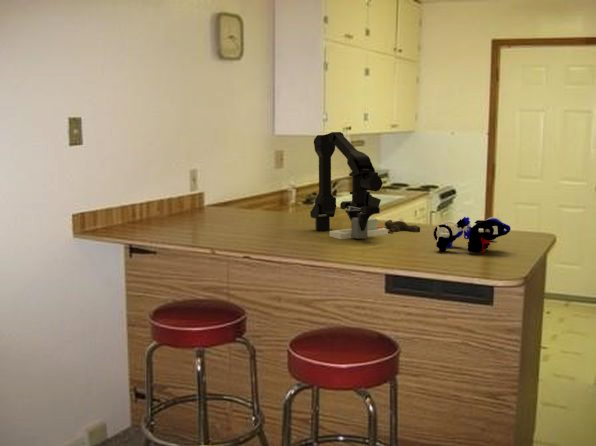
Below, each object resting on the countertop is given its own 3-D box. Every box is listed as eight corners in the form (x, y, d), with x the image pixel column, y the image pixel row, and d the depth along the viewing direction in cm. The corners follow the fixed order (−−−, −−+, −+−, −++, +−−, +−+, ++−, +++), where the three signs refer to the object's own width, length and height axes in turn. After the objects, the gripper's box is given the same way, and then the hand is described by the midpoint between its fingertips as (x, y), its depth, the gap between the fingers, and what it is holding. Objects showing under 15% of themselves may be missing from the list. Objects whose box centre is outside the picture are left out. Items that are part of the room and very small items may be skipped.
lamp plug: (361, 233, 273) (361, 218, 272) (370, 232, 275) (371, 217, 275) (367, 235, 270) (368, 220, 269) (377, 234, 272) (377, 219, 271)
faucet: (424, 233, 280) (405, 242, 269) (388, 227, 291) (369, 236, 279) (424, 221, 279) (405, 231, 268) (388, 216, 289) (368, 225, 278)
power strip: (340, 241, 262) (340, 232, 261) (329, 238, 269) (329, 229, 268) (387, 236, 272) (387, 227, 271) (376, 233, 279) (376, 224, 278)
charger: (351, 236, 262) (351, 217, 261) (360, 235, 264) (361, 216, 263) (357, 238, 258) (357, 219, 257) (367, 237, 260) (367, 218, 259)
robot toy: (442, 214, 252) (513, 216, 241) (442, 246, 254) (512, 249, 243) (431, 220, 238) (505, 222, 227) (431, 254, 240) (505, 258, 229)
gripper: (391, 190, 254) (391, 231, 256) (363, 185, 270) (363, 224, 272) (366, 191, 248) (366, 234, 251) (339, 187, 265) (339, 227, 267)
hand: (359, 230), depth 260 cm, fingers closed on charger, 4 cm apart
